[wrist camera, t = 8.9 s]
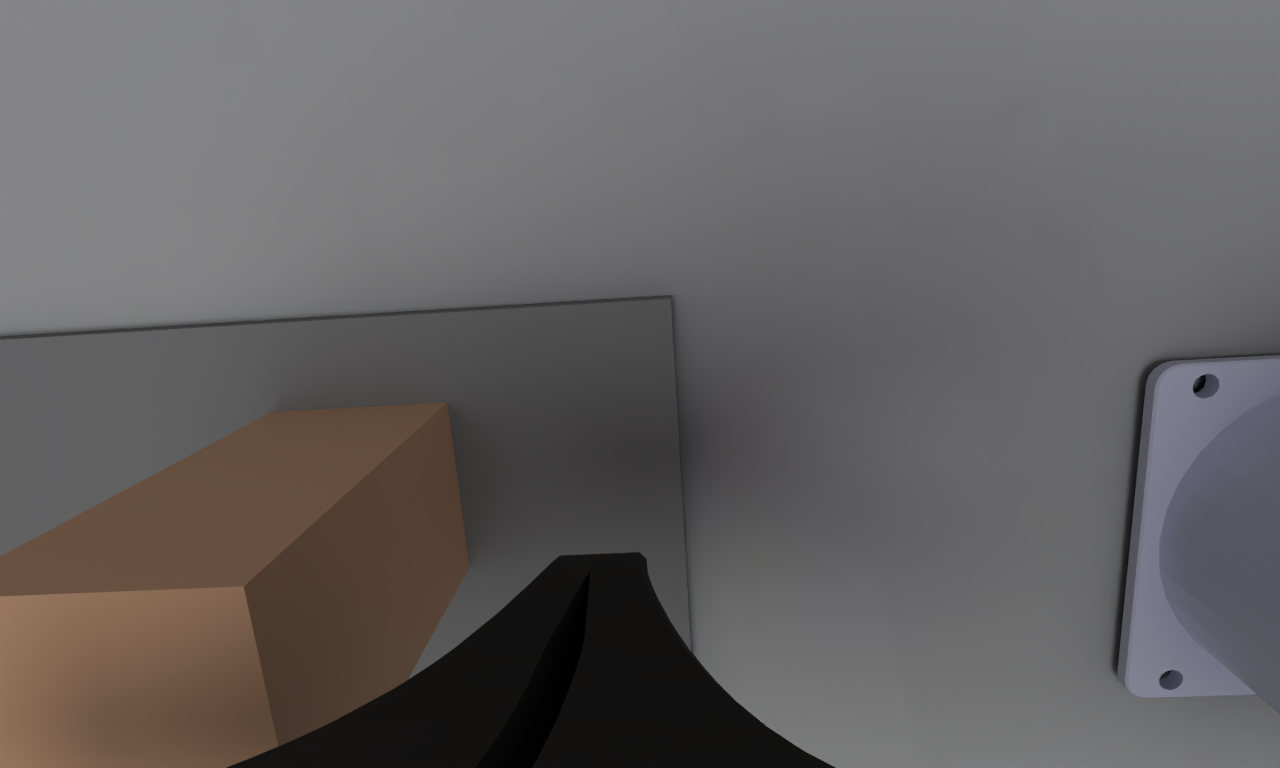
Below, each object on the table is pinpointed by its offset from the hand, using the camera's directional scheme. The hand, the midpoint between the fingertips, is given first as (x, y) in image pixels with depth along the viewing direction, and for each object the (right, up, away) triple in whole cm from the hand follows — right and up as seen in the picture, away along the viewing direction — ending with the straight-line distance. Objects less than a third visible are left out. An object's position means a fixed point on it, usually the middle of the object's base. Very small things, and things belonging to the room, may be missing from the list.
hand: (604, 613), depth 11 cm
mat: (-7, -1, +7) cm, 10 cm away
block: (-6, +1, +6) cm, 8 cm away
